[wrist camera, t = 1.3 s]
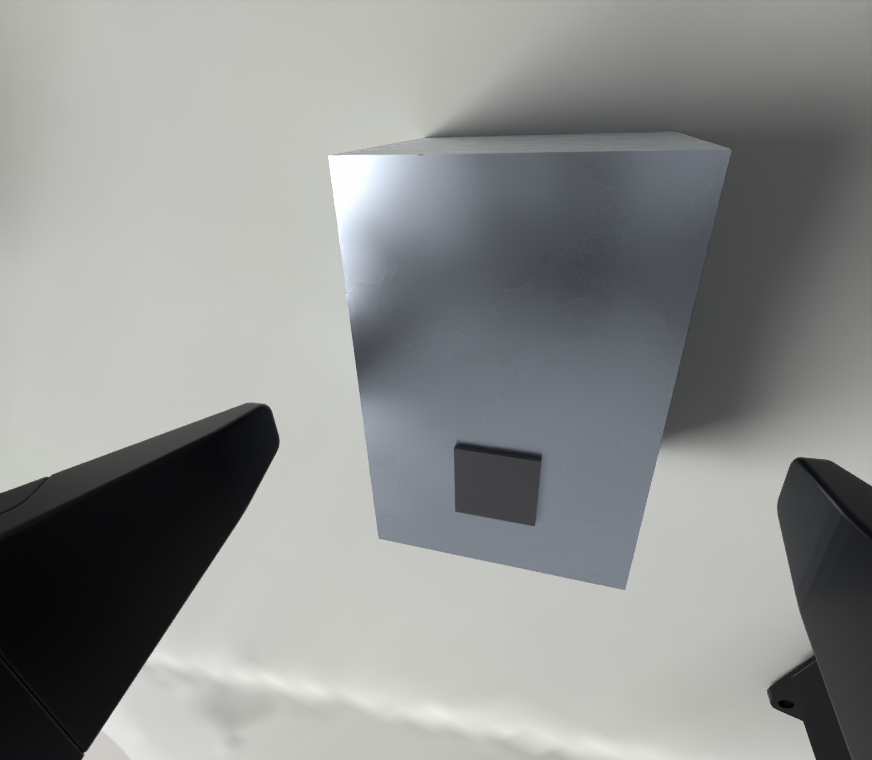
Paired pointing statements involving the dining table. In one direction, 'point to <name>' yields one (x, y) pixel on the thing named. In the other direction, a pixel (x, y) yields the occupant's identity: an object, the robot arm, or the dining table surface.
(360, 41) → the dining table surface
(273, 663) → the dining table surface
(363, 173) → the block
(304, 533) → the dining table surface
